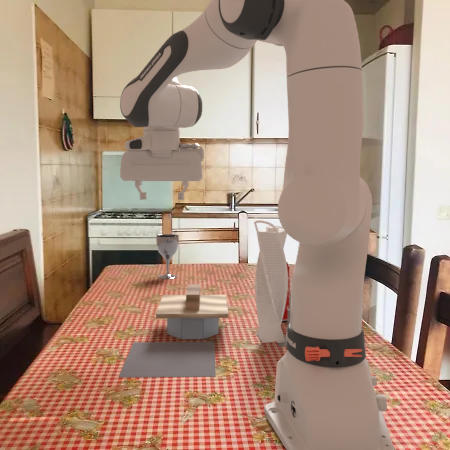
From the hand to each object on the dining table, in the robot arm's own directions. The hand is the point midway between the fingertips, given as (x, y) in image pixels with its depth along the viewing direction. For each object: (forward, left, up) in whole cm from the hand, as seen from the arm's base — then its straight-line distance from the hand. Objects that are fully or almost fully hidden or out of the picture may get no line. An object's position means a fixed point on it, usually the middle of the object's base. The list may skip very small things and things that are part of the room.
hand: (162, 199), depth 121 cm
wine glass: (+50, +3, -31) cm, 59 cm away
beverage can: (+1, -30, -31) cm, 43 cm away
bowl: (-9, -8, -31) cm, 33 cm away
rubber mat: (-26, -4, -31) cm, 41 cm away
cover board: (-9, -8, -25) cm, 28 cm away
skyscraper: (-15, -26, -32) cm, 44 cm away
